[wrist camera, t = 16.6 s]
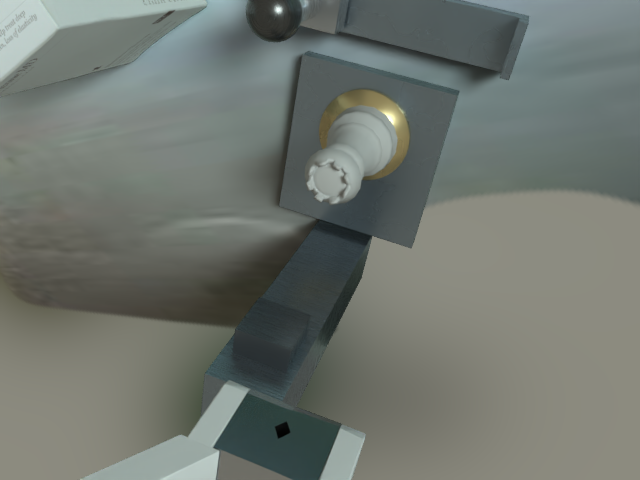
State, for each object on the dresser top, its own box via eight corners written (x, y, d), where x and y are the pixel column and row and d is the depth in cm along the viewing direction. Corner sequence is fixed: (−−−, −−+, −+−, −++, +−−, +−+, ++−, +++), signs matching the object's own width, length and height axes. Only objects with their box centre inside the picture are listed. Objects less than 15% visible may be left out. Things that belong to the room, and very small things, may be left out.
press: (529, 16, 33) (519, 93, 18) (431, 301, 43) (373, 500, 28) (283, -41, 36) (97, -16, 21) (248, 240, 46) (107, 391, 31)
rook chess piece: (361, 88, 36) (321, 125, 30) (413, 137, 37) (385, 184, 30) (318, 137, 39) (272, 181, 32) (368, 183, 39) (332, 236, 32)
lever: (352, -19, 33) (306, -6, 27) (342, 31, 35) (297, 55, 28) (287, -35, 34) (227, -25, 28) (281, 15, 35) (222, 36, 29)
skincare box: (133, 63, 42) (-36, 120, 30) (82, -15, 41) (-118, 11, 28) (215, 0, 38) (59, 36, 26) (162, -89, 37) (-30, -96, 24)
